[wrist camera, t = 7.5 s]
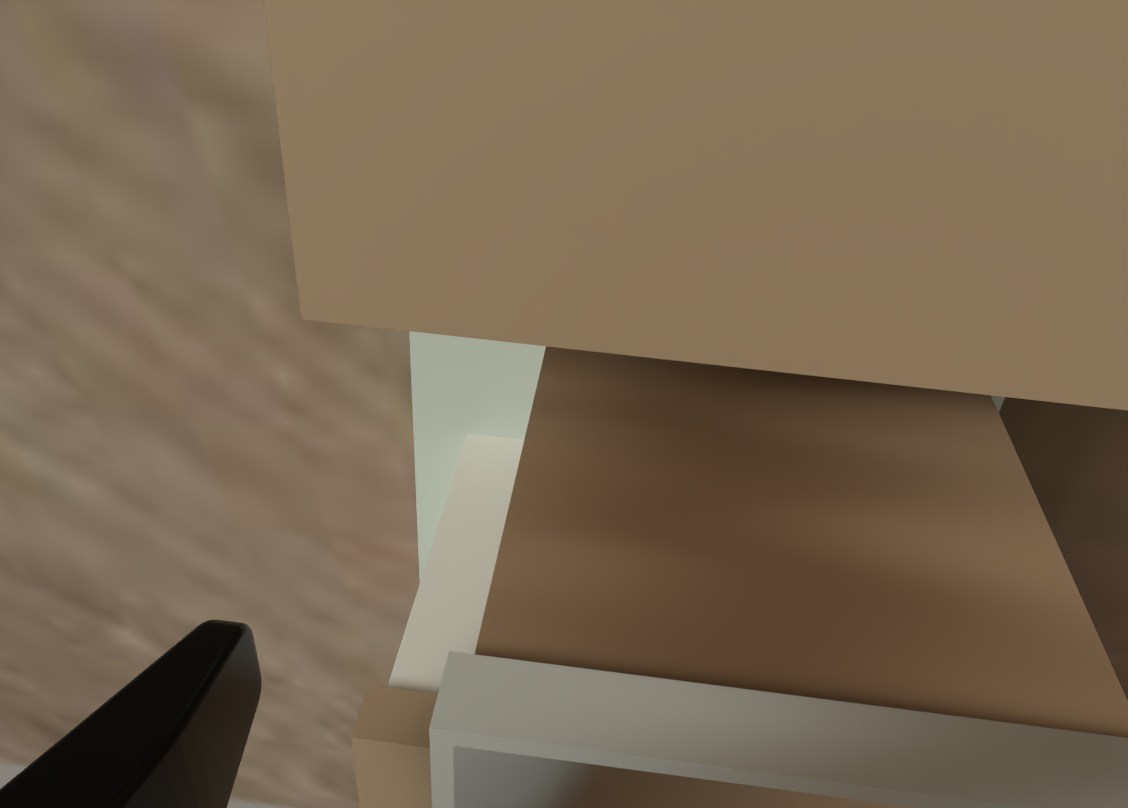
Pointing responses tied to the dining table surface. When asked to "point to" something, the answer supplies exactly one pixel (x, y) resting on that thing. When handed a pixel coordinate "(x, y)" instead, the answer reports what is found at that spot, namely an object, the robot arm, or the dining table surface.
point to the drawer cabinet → (690, 224)
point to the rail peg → (774, 607)
